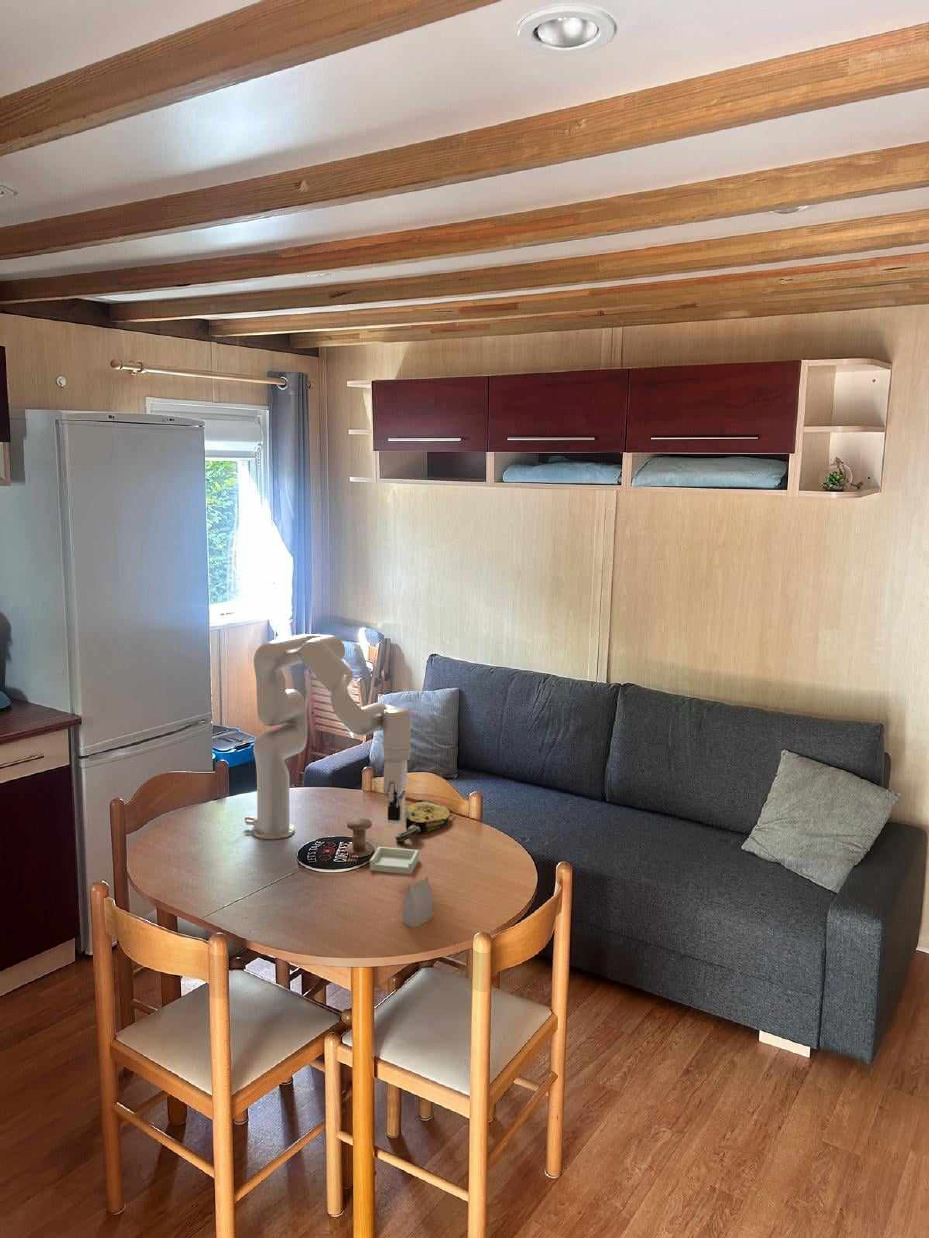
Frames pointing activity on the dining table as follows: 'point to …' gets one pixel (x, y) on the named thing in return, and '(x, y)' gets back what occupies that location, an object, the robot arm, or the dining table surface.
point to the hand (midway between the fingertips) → (395, 816)
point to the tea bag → (418, 903)
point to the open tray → (394, 860)
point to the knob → (359, 837)
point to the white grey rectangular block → (402, 808)
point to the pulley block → (423, 819)
